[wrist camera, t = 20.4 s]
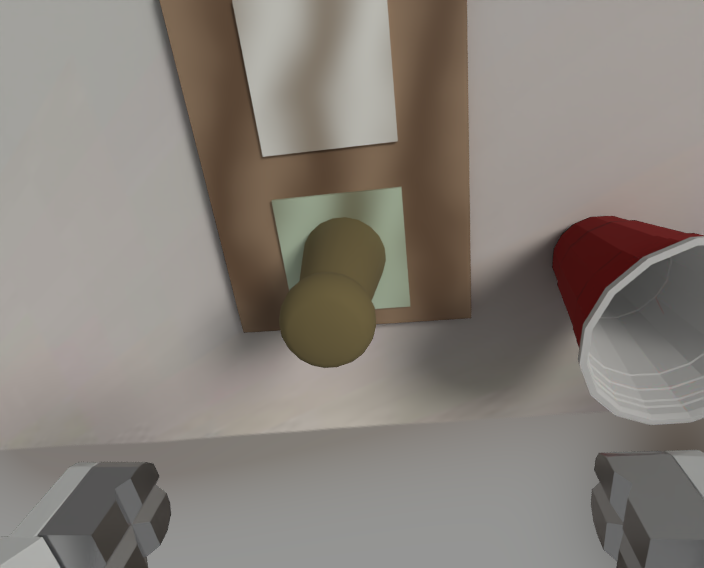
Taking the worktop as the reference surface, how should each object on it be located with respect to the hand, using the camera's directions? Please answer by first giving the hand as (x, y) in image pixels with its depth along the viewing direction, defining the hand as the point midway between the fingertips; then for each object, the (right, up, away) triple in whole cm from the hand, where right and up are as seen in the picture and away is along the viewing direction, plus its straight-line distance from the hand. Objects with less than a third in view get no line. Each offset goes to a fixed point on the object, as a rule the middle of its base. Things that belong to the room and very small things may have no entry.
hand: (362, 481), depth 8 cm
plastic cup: (+17, +6, +24) cm, 30 cm away
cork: (-1, +6, +24) cm, 25 cm away
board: (-1, +12, +23) cm, 26 cm away
